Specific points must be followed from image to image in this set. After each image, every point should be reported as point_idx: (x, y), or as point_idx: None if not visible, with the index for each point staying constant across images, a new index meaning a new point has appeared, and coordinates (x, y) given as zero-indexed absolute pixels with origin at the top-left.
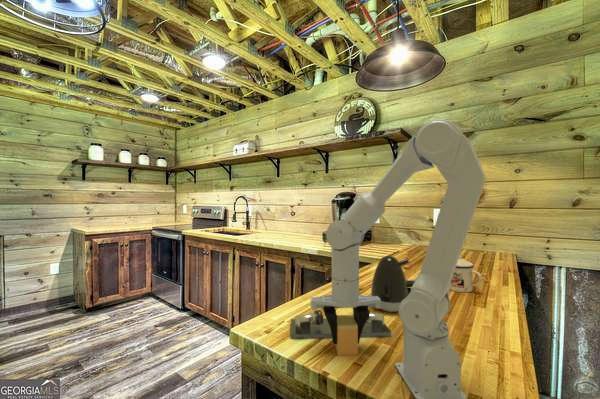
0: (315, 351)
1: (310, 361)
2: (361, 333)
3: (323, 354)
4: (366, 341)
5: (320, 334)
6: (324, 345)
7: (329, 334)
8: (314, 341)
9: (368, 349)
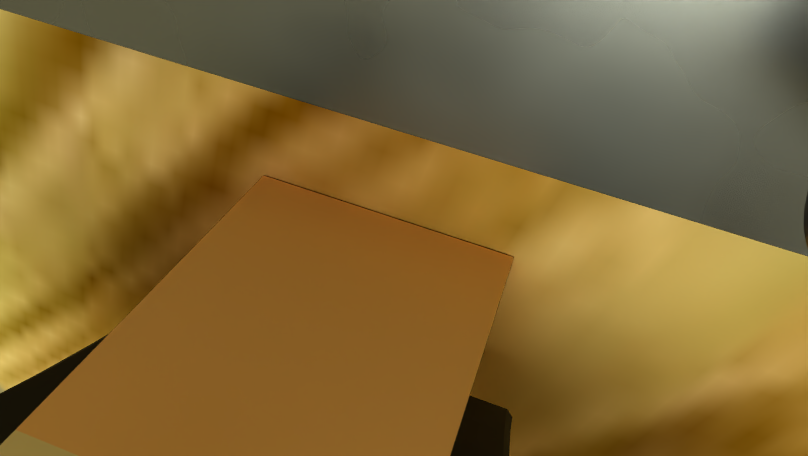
0: (44, 250)
1: (15, 353)
2: (763, 238)
3: (119, 321)
4: (745, 319)
5: (51, 16)
6: (138, 187)
7: (191, 55)
8: (19, 56)
9: (628, 450)
